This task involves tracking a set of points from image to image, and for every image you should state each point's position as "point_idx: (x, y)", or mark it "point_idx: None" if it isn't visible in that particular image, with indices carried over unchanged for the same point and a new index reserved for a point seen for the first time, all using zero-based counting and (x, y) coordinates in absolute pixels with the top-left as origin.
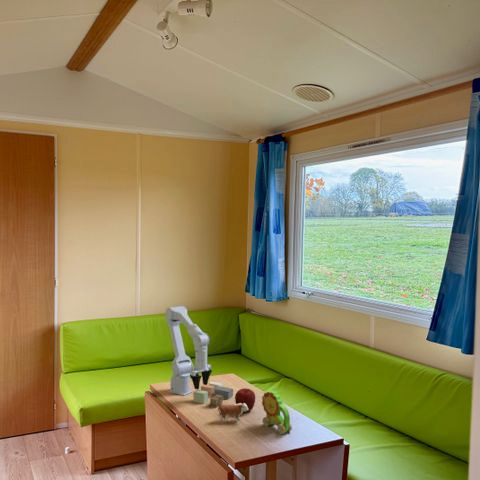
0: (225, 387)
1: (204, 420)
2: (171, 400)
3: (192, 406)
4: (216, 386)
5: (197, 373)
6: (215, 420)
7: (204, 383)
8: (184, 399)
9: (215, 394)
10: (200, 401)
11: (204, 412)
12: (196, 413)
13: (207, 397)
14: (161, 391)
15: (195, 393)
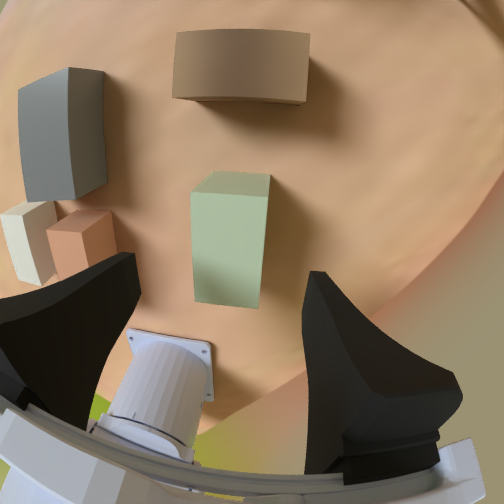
0: (21, 150)
1: (500, 78)
2: (303, 363)
3: (353, 227)
4: (33, 226)
5: (352, 483)
6: (475, 19)
7: (133, 284)
8: (257, 322)
9: (98, 177)
10: (267, 209)
11: (419, 104)
12: (449, 152)
13: (210, 178)
14: (220, 416)
15: (260, 284)
